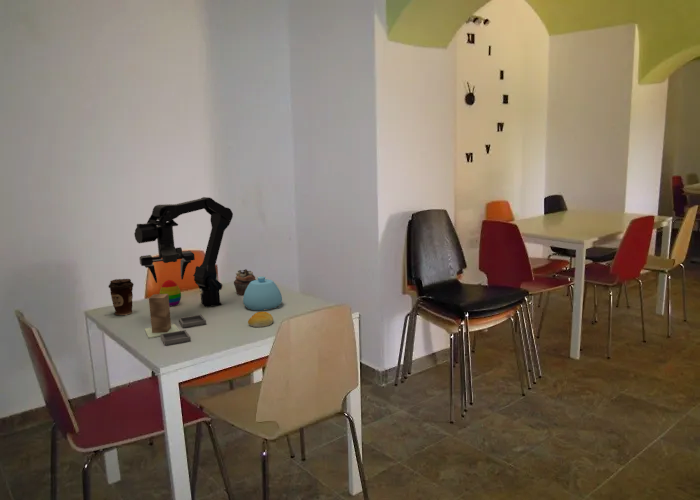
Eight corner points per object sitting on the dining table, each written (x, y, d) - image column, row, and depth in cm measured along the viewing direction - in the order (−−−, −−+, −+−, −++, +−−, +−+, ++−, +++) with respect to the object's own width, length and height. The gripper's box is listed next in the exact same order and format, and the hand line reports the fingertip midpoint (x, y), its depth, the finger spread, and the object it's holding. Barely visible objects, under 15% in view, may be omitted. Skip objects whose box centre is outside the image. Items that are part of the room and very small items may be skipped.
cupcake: (262, 292, 239) (260, 269, 237) (244, 297, 232) (242, 273, 230) (247, 288, 246) (246, 266, 244) (229, 293, 238) (228, 270, 237)
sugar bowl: (278, 299, 228) (276, 271, 226) (285, 308, 214) (284, 279, 212) (241, 303, 223) (239, 274, 221) (246, 313, 209) (244, 283, 207)
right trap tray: (201, 318, 205) (201, 314, 204) (206, 324, 197) (205, 320, 197) (178, 322, 201) (178, 318, 201) (182, 328, 194) (182, 324, 194)
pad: (174, 325, 198) (174, 323, 198) (179, 333, 189) (179, 331, 189) (144, 330, 193) (144, 328, 193) (148, 338, 185) (148, 337, 185)
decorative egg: (173, 308, 219) (170, 283, 217) (156, 306, 222) (153, 281, 220) (186, 302, 227) (183, 278, 225) (169, 301, 230) (167, 277, 228)
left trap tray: (185, 334, 188) (185, 329, 188) (190, 341, 181) (190, 336, 180) (161, 338, 184) (160, 334, 184) (164, 345, 177) (164, 341, 177)
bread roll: (245, 328, 193) (244, 316, 192) (254, 319, 202) (253, 309, 201) (268, 328, 192) (268, 317, 191) (276, 320, 201) (275, 309, 200)
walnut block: (171, 327, 194) (168, 293, 191) (167, 332, 189) (163, 297, 187) (156, 328, 194) (153, 294, 191) (152, 332, 189) (148, 298, 186)
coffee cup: (120, 318, 208) (116, 284, 206) (106, 315, 212) (102, 281, 210) (140, 311, 215) (137, 278, 213) (126, 309, 220) (123, 276, 217)
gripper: (141, 245, 194) (145, 289, 197) (196, 239, 202) (199, 282, 205) (137, 240, 204) (141, 282, 207) (189, 235, 212) (193, 276, 215)
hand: (169, 280), depth 208 cm, fingers open, 9 cm apart
